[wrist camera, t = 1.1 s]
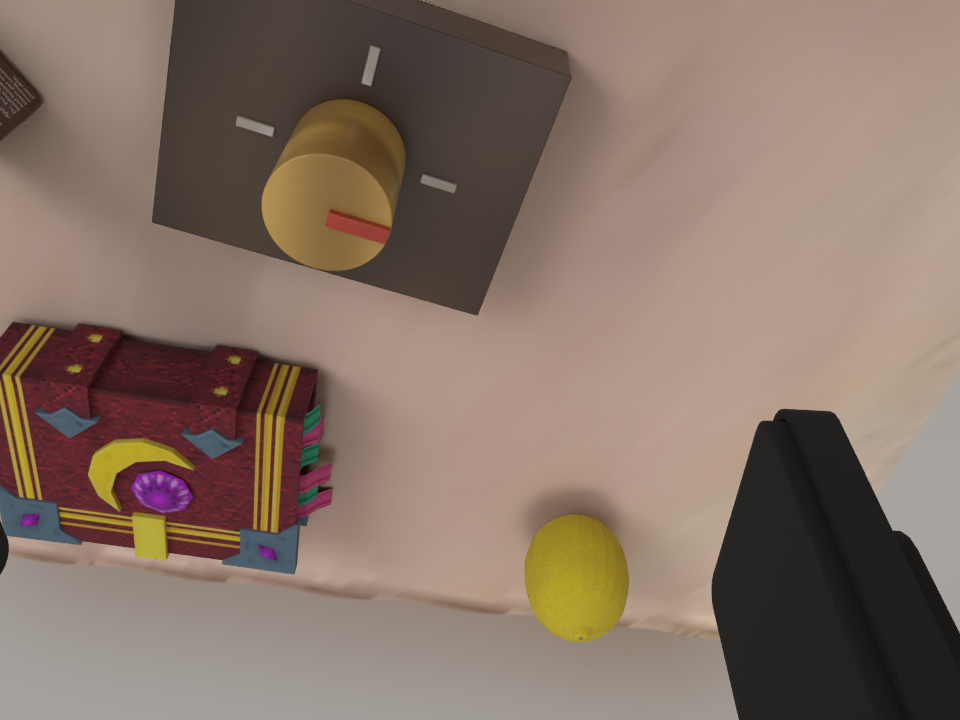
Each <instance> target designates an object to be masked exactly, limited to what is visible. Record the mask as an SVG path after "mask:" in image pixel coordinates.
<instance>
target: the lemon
mask: <svg viewBox="0 0 960 720" xmlns="http://www.w3.org/2000/svg"><path fill="white" fill-rule="evenodd" d="M525 585H526V591H527V595H528V599H529V602H530V604H531V607H532V609H533V611H534V613H535V615H536V617H537V619H538V620H539V622H540V623H541V624H542V625H543V626H544V627H545V628H546V629H547V630H548V631H549V632H551V633H552V634H554V635H556V636H557V637H559V638H562V639H565V640H568V641H574V642H585V641H590V640H594V639H596V638H599V637H601V636H603V635H604V634H606V633H607V632H608V631H609V630H611V629H612V628H613V627H614V626H615V625H616V623H617V622H618V620H619V619H620V617H621V616H622V613H623V611H624V608H625V604H626V600H627V595H628V587H629V576H628V568H627V562H626V557H625V554H624V551H623V549H622V547H621V545H620V543H619V541H618V540H617V538H616V536H615V535H614V534H613V532H612V531H610V530H609V529H608V528H607V527H606V526H605V525H604V524H603V523H601V522H600V521H598V520H596V519H594V518H591V517H588V516H585V515H578V514H570V515H564V516H560V517H557V518H555V519H553V520H551V521H549V522H548V523H547V524H545V525H544V526H543V527H542V528H540V530H539V531H538V532H537V534H536V535H535V536H534V538H533V539H532V541H531V543H530V546H529V549H528V552H527V555H526V560H525Z"/></svg>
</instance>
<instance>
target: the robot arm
mask: <svg viewBox="0 0 960 720" xmlns="http://www.w3.org/2000/svg"><path fill="white" fill-rule="evenodd" d="M8 552H9V544H8V539H7V536H6V534H5V531H4V529H3V526H2V524H1V522H0V574H1V573H2V571H3V569H4V567H5V564H6V561H7V558H8ZM712 603H713V609H714V613H715V618H716V622H717V626H718V631H719V635H720V639H721V643H722V648H723V652H724V657H725V661H726V666H727V670H728V674H729V679H730V682H731V687H732V691H733V696H734V700H735V705H736V709H737V713H738V717H739V720H960V633H959V631H958V629H957V627H956V625H955V623H954V621H953V619H952V617H951V615H950V613H949V611H948V610H947V607H946V605H945V603H944V601H943V599H942V597H941V595H940V593H939V591H938V589H937V587H936V585H935V583H934V581H933V579H932V577H931V575H930V573H929V571H928V569H927V567H926V565H925V563H924V561H923V559H922V558H921V555H920V553H919V551H918V549H917V548H916V546H915V545H914V543H913V542H912V540H911V539H910V538H909V537H908V536H907V535H905V534H904V533H903V532H901V531H892V528H891V527H890V524H889V522H888V520H887V518H886V516H885V514H884V512H883V510H882V508H881V506H880V504H879V502H878V499H877V497H876V495H875V493H874V491H873V489H872V487H871V485H870V483H869V481H868V479H867V477H866V475H865V472H864V470H863V468H862V466H861V464H860V462H859V460H858V458H857V456H856V454H855V452H854V450H853V448H852V446H851V443H850V441H849V439H848V437H847V435H846V433H845V431H844V429H843V427H842V425H841V423H840V421H839V419H838V418H837V416H836V415H835V414H834V413H832V412H831V411H814V410H794V409H781V410H779V411H778V412H777V413H776V415H775V417H774V419H773V421H761V422H760V424H759V425H758V427H757V430H756V433H755V436H754V440H753V443H752V446H751V450H750V453H749V456H748V460H747V463H746V466H745V470H744V473H743V476H742V480H741V483H740V487H739V490H738V493H737V497H736V500H735V503H734V507H733V510H732V513H731V517H730V520H729V523H728V527H727V530H726V534H725V537H724V540H723V544H722V547H721V550H720V554H719V557H718V560H717V564H716V567H715V570H714V574H713V579H712Z"/></svg>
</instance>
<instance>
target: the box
mask: <svg viewBox="0 0 960 720" xmlns="http://www.w3.org/2000/svg"><path fill="white" fill-rule="evenodd" d="M41 104H42V100H41V98H40V97H39V96H38V95H37V94H36V93H35V92H34V91H33V90H32V89H31V88H30V87H29V86H28V85H27V84H26V83H25V82H24V81H23V80H22V79H21V78H20V77H19V75H18V74H17V73H16V72H15V71H14V70H13V69H12V68H11V67H10V66H9V65H8V64H7V63H6V62H5V61H4V60H3V59H2V58H1V56H0V141H1V140H2V139H3V138H4V137H6V136H7V135H8V134H9V133H10V132H12V131H13V130H14V129H15V128H16V127H17V126H19V125H20V124H21V123H22V122H24V121H25V120H26V119H27V118H28V117H29V116H30V115H32V114H33V113H34V112H35V111H36V110H37V109H38V108H39V107H40V105H41Z"/></svg>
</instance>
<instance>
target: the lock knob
mask: <svg viewBox="0 0 960 720" xmlns="http://www.w3.org/2000/svg"><path fill="white" fill-rule="evenodd" d="M405 164H406V153H405V148H404V144H403V141H402V138H401V136H400V134H399V132H398V130H397V129H396V127H395V126H394V124H393V123H392V122H391V121H390V120H389V119H388V118H387V117H386V116H385V115H384V114H383V113H381V112H380V111H379V110H377V109H375V108H374V107H372V106H370V105H368V104H365V103H363V102H359V101H355V100H348V99H337V100H330V101H327V102H323V103H321V104H319V105H316V106H315V107H313V108H312V109H310V110H309V111H308V112H307V113H305V114H304V116H303V117H302V118H301V119H300V120H299V122H298V124H297V125H296V127H295V129H294V131H293V133H292V135H291V137H290V139H289V141H288V143H287V144H286V146H285V148H284V150H283V152H282V154H281V156H280V158H279V160H278V162H277V164H276V166H275V168H274V169H273V171H272V173H271V175H270V177H269V179H268V181H267V183H266V185H265V188H264V191H263V195H262V214H263V219H264V222H265V225H266V228H267V230H268V232H269V234H270V235H271V237H272V238H273V240H274V241H275V242H276V244H277V245H278V246H279V247H280V248H281V249H282V250H283V251H284V252H285V253H286V254H288V255H289V256H290V257H292V258H293V259H295V260H296V261H298V262H300V263H302V264H304V265H307V266H309V267H312V268H316V269H320V270H327V271H342V270H348V269H353V268H356V267H358V266H361V265H363V264H365V263H367V262H368V261H370V260H371V259H373V258H374V257H375V256H376V255H377V254H378V253H379V252H380V251H381V250H382V248H383V247H384V246H385V244H386V242H387V240H388V238H389V235H390V232H391V228H392V223H393V219H394V214H395V210H396V205H397V201H398V197H399V192H400V188H401V183H402V179H403V175H404V170H405Z"/></svg>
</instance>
